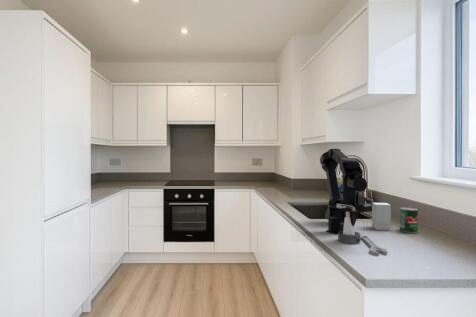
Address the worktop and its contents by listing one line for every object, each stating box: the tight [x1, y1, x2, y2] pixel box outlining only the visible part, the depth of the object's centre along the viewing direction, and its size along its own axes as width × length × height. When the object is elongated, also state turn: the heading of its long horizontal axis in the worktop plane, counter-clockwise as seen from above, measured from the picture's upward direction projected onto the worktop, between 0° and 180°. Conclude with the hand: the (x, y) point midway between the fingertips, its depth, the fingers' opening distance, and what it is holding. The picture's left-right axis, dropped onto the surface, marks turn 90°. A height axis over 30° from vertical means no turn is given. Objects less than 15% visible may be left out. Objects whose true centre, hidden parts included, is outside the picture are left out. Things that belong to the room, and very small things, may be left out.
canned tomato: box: [399, 206, 419, 234], centre depth 152 cm, size 8×8×11 cm
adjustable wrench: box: [360, 235, 388, 257], centre depth 126 cm, size 25×6×2 cm, turn 167°
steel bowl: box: [337, 231, 362, 245], centre depth 133 cm, size 9×9×4 cm
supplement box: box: [371, 202, 392, 231], centre depth 157 cm, size 7×7×13 cm
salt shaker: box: [343, 210, 356, 235], centre depth 133 cm, size 5×5×11 cm
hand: (349, 225), depth 133 cm, fingers closed on salt shaker, 4 cm apart
